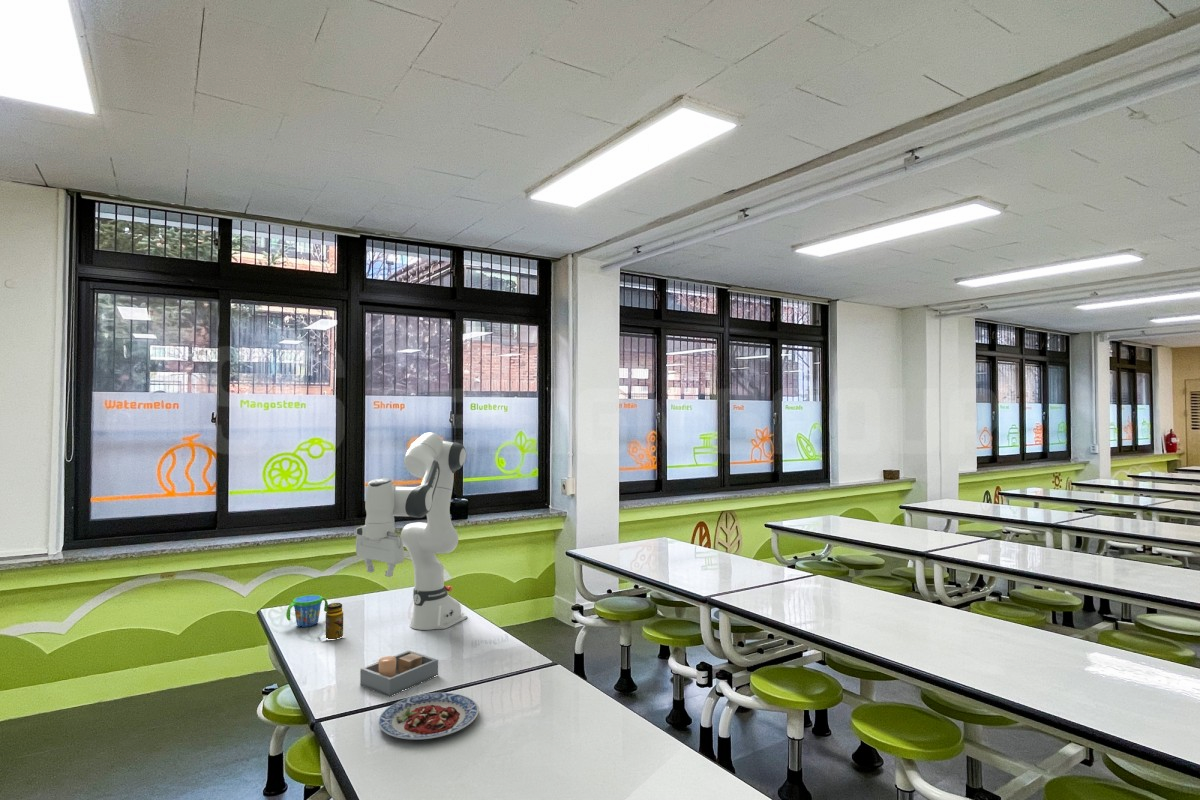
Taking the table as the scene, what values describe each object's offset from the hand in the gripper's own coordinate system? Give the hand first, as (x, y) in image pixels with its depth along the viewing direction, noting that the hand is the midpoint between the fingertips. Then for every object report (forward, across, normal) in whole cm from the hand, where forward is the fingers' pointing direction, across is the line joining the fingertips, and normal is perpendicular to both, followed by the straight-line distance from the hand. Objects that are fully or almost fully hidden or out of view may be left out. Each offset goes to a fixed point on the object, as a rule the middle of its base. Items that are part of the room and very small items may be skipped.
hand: (379, 574), depth 204 cm
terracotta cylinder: (+30, -10, +4) cm, 32 cm away
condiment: (+31, +42, -10) cm, 53 cm away
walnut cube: (+30, -10, -4) cm, 32 cm away
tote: (+31, -10, 0) cm, 33 cm away
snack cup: (+31, +63, -13) cm, 72 cm away
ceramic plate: (+32, -38, +12) cm, 51 cm away
